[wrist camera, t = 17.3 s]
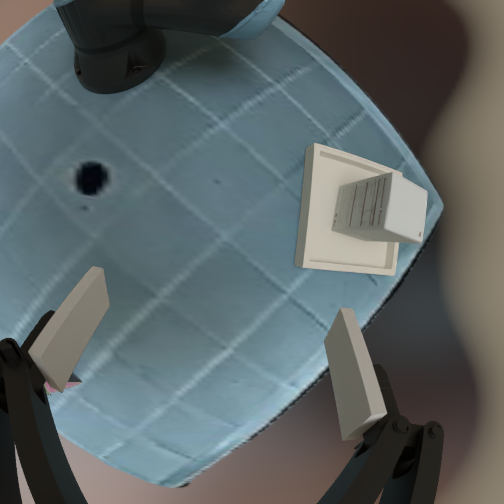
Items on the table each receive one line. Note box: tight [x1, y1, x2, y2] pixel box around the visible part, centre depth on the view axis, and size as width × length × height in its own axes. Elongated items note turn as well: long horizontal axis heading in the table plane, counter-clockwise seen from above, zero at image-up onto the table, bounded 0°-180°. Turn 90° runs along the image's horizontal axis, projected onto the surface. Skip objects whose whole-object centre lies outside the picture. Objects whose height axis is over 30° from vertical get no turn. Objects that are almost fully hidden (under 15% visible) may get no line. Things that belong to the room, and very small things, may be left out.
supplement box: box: [332, 172, 427, 243], centre depth 35 cm, size 7×7×13 cm
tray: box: [294, 143, 402, 276], centre depth 40 cm, size 18×18×3 cm
